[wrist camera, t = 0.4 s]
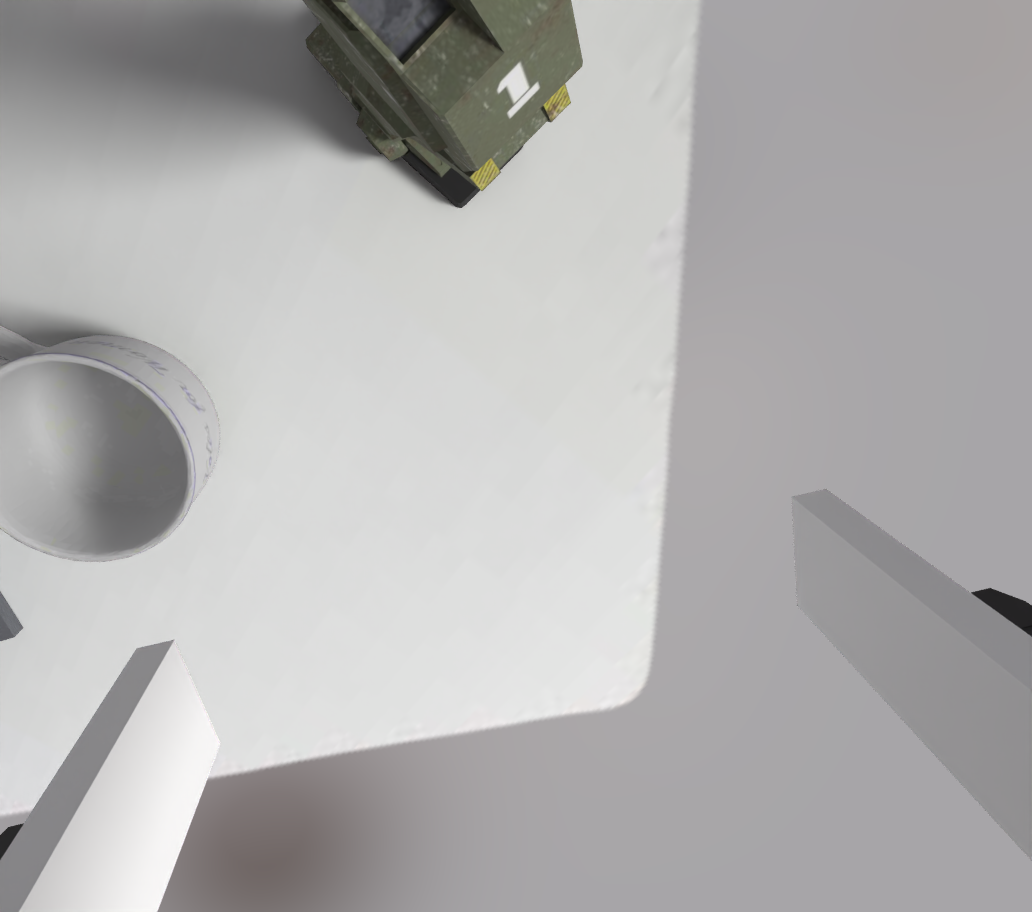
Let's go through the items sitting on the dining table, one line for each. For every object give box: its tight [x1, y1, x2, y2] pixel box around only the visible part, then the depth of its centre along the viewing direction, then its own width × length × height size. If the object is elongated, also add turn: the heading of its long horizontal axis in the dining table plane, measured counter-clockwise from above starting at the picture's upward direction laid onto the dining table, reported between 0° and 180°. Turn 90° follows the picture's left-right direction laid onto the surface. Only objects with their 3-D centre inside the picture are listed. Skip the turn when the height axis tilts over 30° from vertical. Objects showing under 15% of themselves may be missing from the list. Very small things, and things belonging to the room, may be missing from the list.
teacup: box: [0, 325, 220, 562], centre depth 36 cm, size 14×11×8 cm
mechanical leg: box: [303, 0, 583, 208], centre depth 23 cm, size 14×7×30 cm, turn 42°
